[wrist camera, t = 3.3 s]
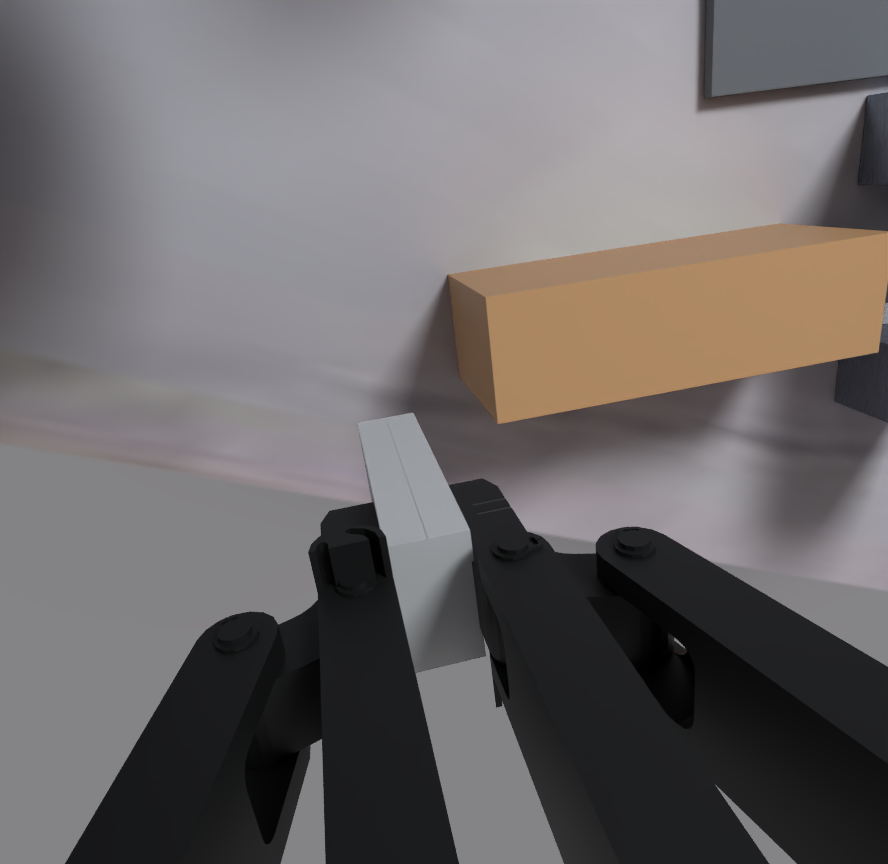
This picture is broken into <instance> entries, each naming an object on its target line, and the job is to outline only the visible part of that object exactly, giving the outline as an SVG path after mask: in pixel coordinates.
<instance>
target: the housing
mask: <svg viewBox="0 0 888 864" xmlns="http://www.w3.org/2000/svg"><path fill="white" fill-rule="evenodd" d="M858 185H888V92H887V93H881V94H875V95H869V96H867V104H866V113H865V123H864V132H863V141H862V151H861V160H860V169H859V179H858ZM835 402H837V403H840V404H842V405H845V406H848V407H850V408H853V409H855V410H858V411H860V412H863V413H865V414H868V415H870V416H873V417H875V418H878V419H880V420H883V421H885V422H888V324H883V325H882V329H881V337H880V344H879V352H877V353H872V354H867V355H861V356H856V357H851V358H846V359H840V360H839V365H838V374H837V384H836V393H835Z"/></svg>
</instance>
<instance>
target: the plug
mask: <svg viewBox="0 0 888 864" xmlns="http://www.w3.org/2000/svg"><path fill="white" fill-rule="evenodd" d="M448 281H449V289H450V298H451V306H452V315H453V323H454V332H455V340H456V349H457V358H458V366H459V375H460V379H461V380H462V381H463V382H464V383H465V385H466V386H467V387H468V388H469V390H470V391H471V392H472V393H473V394H474V396H475V397H476V398H477V399H478V401H479V402H480V403H481V404H482V405H483V407H484V408H485V409H486V410H487V412H488V413H489V414H490V415H491V416H492V418H493V419H494V420H495V421H496V422H497V424H502V423H507V422H512V421H518V420H523V419H528V418H533V417H539V416H544V415H549V414H555V413H560V412H565V411H570V410H576V409H581V408H586V407H592V406H597V405H602V404H607V403H613V402H618V401H623V400H629V399H634V398H639V397H644V396H650V395H655V394H660V393H666V392H671V391H676V390H682V389H687V388H692V387H697V386H703V385H708V384H713V383H719V382H724V381H729V380H734V379H740V378H745V377H750V376H756V375H761V374H766V373H771V372H777V371H782V370H787V369H793V368H798V367H803V366H809V365H814V364H819V363H824V362H830V361H835V360H840V359H846V358H851V357H856V356H861V355H867V354H872V353H877V352H879V344H880V337H881V329H882V322H883V314H884V307H885V303H887V302H888V231H877V230H863V229H849V228H835V227H821V226H807V225H793V224H773V225H767V226H760V227H754V228H747V229H741V230H734V231H728V232H721V233H715V234H708V235H702V236H695V237H689V238H682V239H676V240H669V241H663V242H656V243H650V244H643V245H637V246H630V247H624V248H617V249H611V250H604V251H598V252H591V253H585V254H578V255H572V256H565V257H559V258H552V259H546V260H539V261H533V262H526V263H520V264H513V265H507V266H500V267H494V268H487V269H481V270H474V271H468V272H461V273H455V274H448Z"/></svg>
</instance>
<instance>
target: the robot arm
mask: <svg viewBox="0 0 888 864" xmlns="http://www.w3.org/2000/svg"><path fill="white" fill-rule="evenodd" d="M358 429H359V434H360V440H361V445H362V450H363V456H364V461H365V467H366V472H367V477H368V483H369V488H370V494H371V499H372V502H371V503H366V504H361V505H357V506H352V507H347V508H342V509H337V510H332V511H329V512H328V514H327V515H326V517H325V518H324V520H323V521H322V522H321V536H320V537H318V538H317V539H316V540H315V541H314V542H313V543H312V544H311V547H310V549H309V552H308V553H309V557H310V562H311V566H312V570H313V575H314V579H315V583H316V588H317V592H318V600H317V601H316V602H315V604H314V605H312V606H311V607H310V608H309V609H308V610H306V611H305V612H303V613H302V614H300V615H298V616H296V617H294V618H292V619H290V620H288V621H286V622H284V623H282V624H279V625H278V624H277V622H276V621H275V619H274V617H272V616H270V615H268V614H266V613H264V612H246V613H241V614H235V615H232V616H229V617H228V618H225V619H223V620H220V621H219V622H217V623H216V624H214V625H213V626H211V627H210V628H208V629H207V630H206V631H205V632H204V633H203V634H202V635H201V636H200V638H199V639H198V640H197V641H196V643H195V645H194V646H193V648H192V650H191V651H190V653H189V655H188V657H187V658H186V660H185V662H184V663H183V665H182V667H181V668H180V670H179V672H178V673H177V675H176V677H175V679H174V680H173V682H172V684H171V685H170V687H169V689H168V690H167V692H166V694H165V695H164V697H163V699H162V700H161V702H160V704H159V706H158V707H157V709H156V711H155V712H154V714H153V716H152V717H151V719H150V721H149V723H148V724H147V726H146V728H145V729H144V731H143V733H142V734H141V736H140V738H139V739H138V741H137V743H136V745H135V746H134V748H133V750H132V751H131V753H130V755H129V757H128V758H127V760H126V761H125V763H124V765H123V767H122V768H121V770H120V772H119V773H118V775H117V777H116V778H115V780H114V782H113V783H112V785H111V787H110V789H109V790H108V792H107V794H106V795H105V797H104V799H103V800H102V802H101V804H100V805H99V807H98V809H97V810H96V812H95V814H94V816H93V817H92V819H91V821H90V822H89V824H88V826H87V827H86V829H85V831H84V833H83V834H82V836H81V838H80V839H79V841H78V843H77V844H76V846H75V848H74V849H73V851H72V853H71V855H70V856H69V858H68V860H67V861H66V863H65V864H280V863H281V860H282V856H283V852H284V849H285V845H286V842H287V838H288V834H289V831H290V827H291V824H292V820H293V816H294V813H295V810H296V806H297V802H298V799H299V795H300V791H301V788H302V784H303V781H304V777H305V774H306V770H307V766H308V763H309V759H310V745H311V744H313V743H315V742H317V741H318V740H320V739H322V750H323V782H324V784H323V786H324V820H325V854H326V864H459V862H458V858H457V853H456V849H455V845H454V840H453V836H452V832H451V827H450V823H449V818H448V814H447V810H446V805H445V801H444V797H443V792H442V788H441V784H440V779H439V775H438V770H437V766H436V761H435V757H434V753H433V748H432V744H431V740H430V735H429V731H428V726H427V723H426V718H425V713H424V709H423V705H422V701H421V696H420V692H419V687H418V683H417V678H416V674H415V673H417V672H421V671H425V670H430V669H433V668H438V667H442V666H446V665H450V664H455V663H459V662H462V661H467V660H471V659H475V658H480V657H484V656H486V654H485V645H484V638H485V641H486V644H487V646H488V649H489V651H490V660H491V668H492V676H493V684H494V692H495V701H496V707H500V706H502V701H503V704H504V707H505V709H506V712H507V715H508V717H509V720H510V722H511V725H512V728H513V730H514V733H515V736H516V738H517V741H518V743H519V746H520V749H521V751H522V754H523V757H524V759H525V762H526V764H527V767H528V769H529V772H530V775H531V778H532V780H533V783H534V786H535V788H536V790H537V793H538V796H539V798H540V801H541V804H542V807H543V809H544V812H545V814H546V817H547V820H548V822H549V825H550V828H551V830H552V833H553V835H554V838H555V841H556V843H557V846H558V849H559V851H560V854H561V857H562V859H563V862H564V864H769V863H768V861H767V860H766V858H765V857H764V856H763V854H762V853H761V851H760V850H759V848H758V847H757V845H756V844H755V843H754V841H753V839H752V838H751V837H750V835H749V834H748V832H747V831H746V829H745V828H744V826H743V825H742V823H741V822H740V821H739V819H738V818H737V816H736V815H735V813H734V812H733V810H732V809H731V807H730V806H729V805H728V803H727V802H726V800H725V799H724V798H723V796H722V794H721V793H720V791H719V790H718V789H717V787H719V788H720V789H721V790H722V791H723V792H724V793H725V794H726V795H727V796H728V797H729V798H730V799H731V800H732V801H733V802H734V803H735V804H736V805H737V806H738V807H739V808H740V809H741V810H742V811H743V812H744V813H745V814H746V815H747V816H749V817H750V818H751V819H752V820H753V821H754V822H755V823H756V824H757V825H758V826H759V827H760V828H761V829H762V830H763V831H764V832H765V833H766V834H767V835H768V836H769V837H770V838H771V839H772V840H773V841H774V842H775V843H776V844H777V845H778V846H779V847H781V848H782V849H783V850H784V851H785V852H786V853H787V854H788V855H789V856H790V857H791V858H792V859H793V860H794V861H795V862H796V863H797V864H888V667H887V666H885V665H884V664H882V663H880V662H879V661H877V660H875V659H873V658H872V657H870V656H868V655H867V654H865V653H863V652H862V651H860V650H858V649H857V648H855V647H853V646H852V645H850V644H848V643H846V642H845V641H843V640H841V639H840V638H838V637H836V636H835V635H833V634H831V633H830V632H828V631H826V630H825V629H823V628H821V627H819V626H818V625H816V624H814V623H813V622H811V621H809V620H808V619H806V618H804V617H802V616H801V615H799V614H797V613H796V612H794V611H792V610H791V609H789V608H787V607H786V606H784V605H782V604H780V603H779V602H777V601H775V600H774V599H772V598H770V597H769V596H767V595H765V594H764V593H762V592H760V591H759V590H757V589H755V588H753V587H752V586H750V585H748V584H747V583H745V582H743V581H742V580H740V579H738V578H737V577H735V576H733V575H732V574H730V573H728V572H727V571H725V570H723V569H721V568H720V567H718V566H716V565H715V564H713V563H711V562H710V561H708V560H706V559H705V558H703V557H701V556H699V555H698V554H696V553H694V552H693V551H691V550H689V549H688V548H686V547H684V546H683V545H681V544H679V543H678V542H676V541H674V540H672V539H671V538H669V537H667V536H666V535H664V534H662V533H659V532H657V531H654V530H652V529H646V528H640V527H623V528H619V529H615V530H611V531H609V532H607V533H605V534H603V535H602V536H600V538H599V539H598V541H597V542H596V554H564V553H558V552H555V551H554V550H553V548H552V547H551V545H550V544H549V543H548V542H547V541H546V540H545V539H544V538H543V537H541V536H539V535H536V534H533V533H530V532H527V531H526V529H525V528H524V526H523V525H522V523H521V522H520V520H519V519H518V517H517V516H516V514H515V512H514V511H513V509H512V508H510V505H509V503H508V502H507V500H506V499H505V498H504V496H503V494H502V493H501V491H500V489H499V488H498V486H496V485H494V484H492V483H490V482H488V481H486V480H484V479H477V480H472V481H467V482H463V483H458V484H453V485H448V483H447V481H446V479H445V477H444V475H443V473H442V471H441V469H440V467H439V465H438V463H437V461H436V459H435V456H434V454H433V452H432V450H431V448H430V446H429V444H428V442H427V440H426V438H425V436H424V434H423V432H422V430H421V428H420V426H419V423H418V421H417V419H416V417H415V415H414V413H408V414H403V415H397V416H392V417H386V418H381V419H375V420H370V421H364V422H359V423H358ZM483 636H484V637H483ZM674 637H675V638H676V639H677V640H678V641H679V642H680V643H681V644H683V646H685V648H686V649H685V648H683V647H682V646H680V645H679V644H678V643H677V642H675V641H674ZM715 785H717V787H716V786H715Z"/></svg>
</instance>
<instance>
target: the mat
mask: <svg viewBox="0 0 888 864" xmlns="http://www.w3.org/2000/svg"><path fill="white" fill-rule="evenodd" d="M882 76H888V0H706V40H705V82H704V98H712V97H720V96H728V95H736V94H744V93H752V92H760V91H768V90H776V89H785V88H793V87H801V86H809V85H817V84H825V83H833V82H841V81H849V80H858V79H866V78H874V77H882Z"/></svg>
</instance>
